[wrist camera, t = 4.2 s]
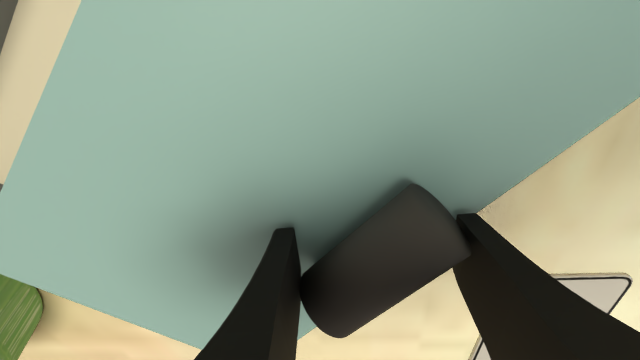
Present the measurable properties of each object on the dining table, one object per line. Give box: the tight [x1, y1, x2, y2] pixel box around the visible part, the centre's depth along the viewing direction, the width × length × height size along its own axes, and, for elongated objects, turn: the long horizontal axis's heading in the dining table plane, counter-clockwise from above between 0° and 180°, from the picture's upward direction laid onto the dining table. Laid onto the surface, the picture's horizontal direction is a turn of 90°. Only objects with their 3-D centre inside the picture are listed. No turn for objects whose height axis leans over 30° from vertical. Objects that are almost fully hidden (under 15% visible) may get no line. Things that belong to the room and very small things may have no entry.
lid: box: [0, 0, 640, 350], centre depth 10 cm, size 12×20×3 cm, turn 140°
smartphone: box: [468, 273, 633, 360], centre depth 24 cm, size 7×1×15 cm
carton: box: [0, 0, 81, 192], centre depth 11 cm, size 12×20×3 cm, turn 140°
